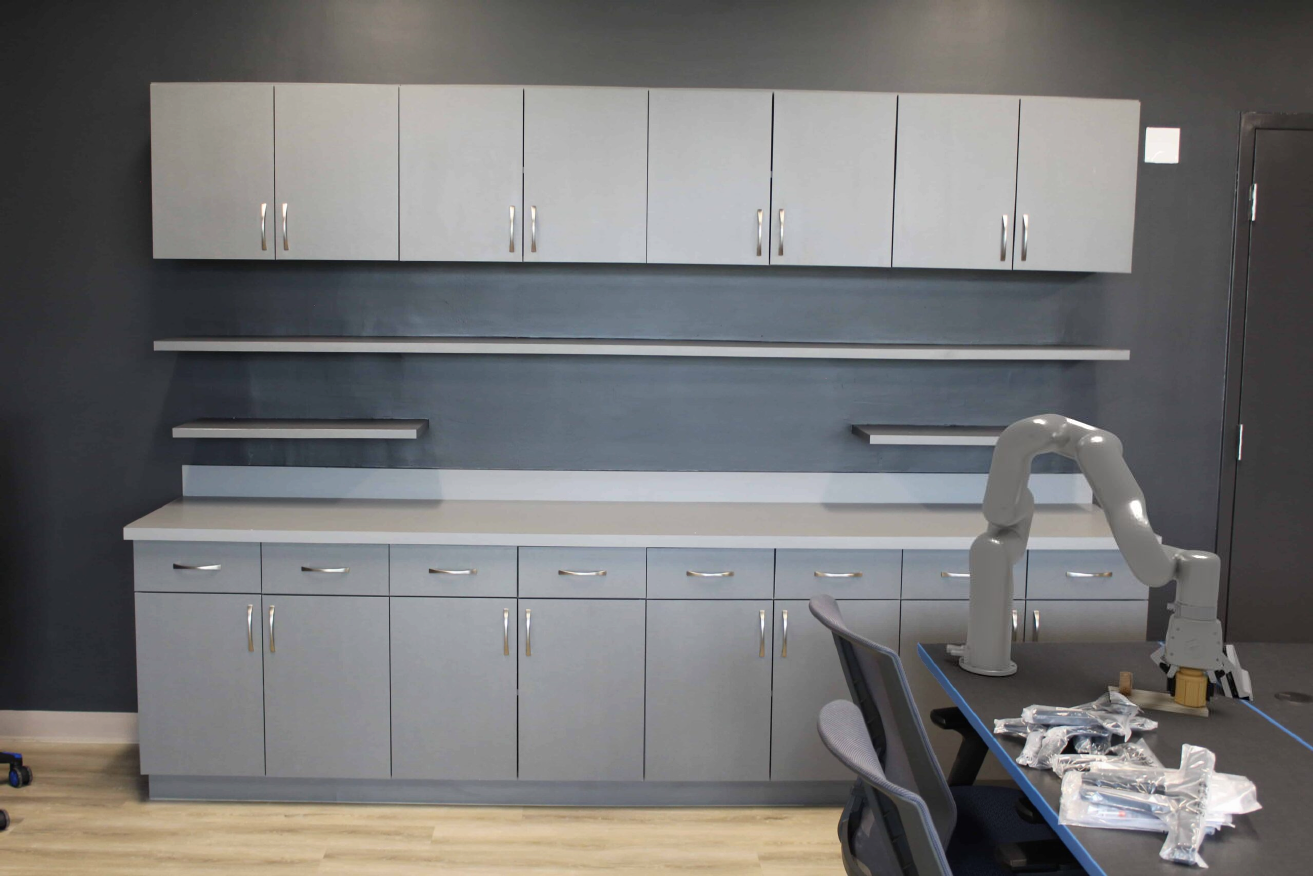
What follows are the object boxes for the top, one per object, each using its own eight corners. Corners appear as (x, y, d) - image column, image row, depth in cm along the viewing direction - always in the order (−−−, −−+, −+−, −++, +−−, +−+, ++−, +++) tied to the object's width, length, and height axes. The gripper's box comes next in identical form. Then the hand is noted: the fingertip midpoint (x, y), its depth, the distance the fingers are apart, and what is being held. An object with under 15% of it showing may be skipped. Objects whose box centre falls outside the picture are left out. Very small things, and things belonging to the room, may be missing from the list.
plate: (1110, 703, 207) (1110, 698, 207) (1108, 691, 214) (1108, 686, 214) (1208, 717, 200) (1208, 711, 200) (1202, 704, 208) (1202, 698, 208)
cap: (1174, 704, 203) (1176, 669, 203) (1171, 694, 209) (1173, 661, 208) (1207, 708, 201) (1210, 674, 200) (1203, 698, 207) (1205, 665, 206)
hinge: (1253, 703, 209) (1239, 657, 209) (1228, 706, 211) (1214, 660, 212) (1250, 679, 223) (1236, 635, 224) (1226, 682, 226) (1213, 639, 226)
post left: (1119, 695, 209) (1120, 674, 208) (1118, 691, 211) (1119, 670, 210) (1131, 696, 208) (1133, 675, 207) (1130, 693, 210) (1132, 672, 209)
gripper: (1150, 611, 203) (1144, 696, 204) (1247, 621, 196) (1240, 709, 198) (1147, 602, 210) (1141, 685, 211) (1240, 612, 203) (1233, 697, 205)
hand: (1189, 696), depth 205 cm, fingers closed on cap, 5 cm apart
